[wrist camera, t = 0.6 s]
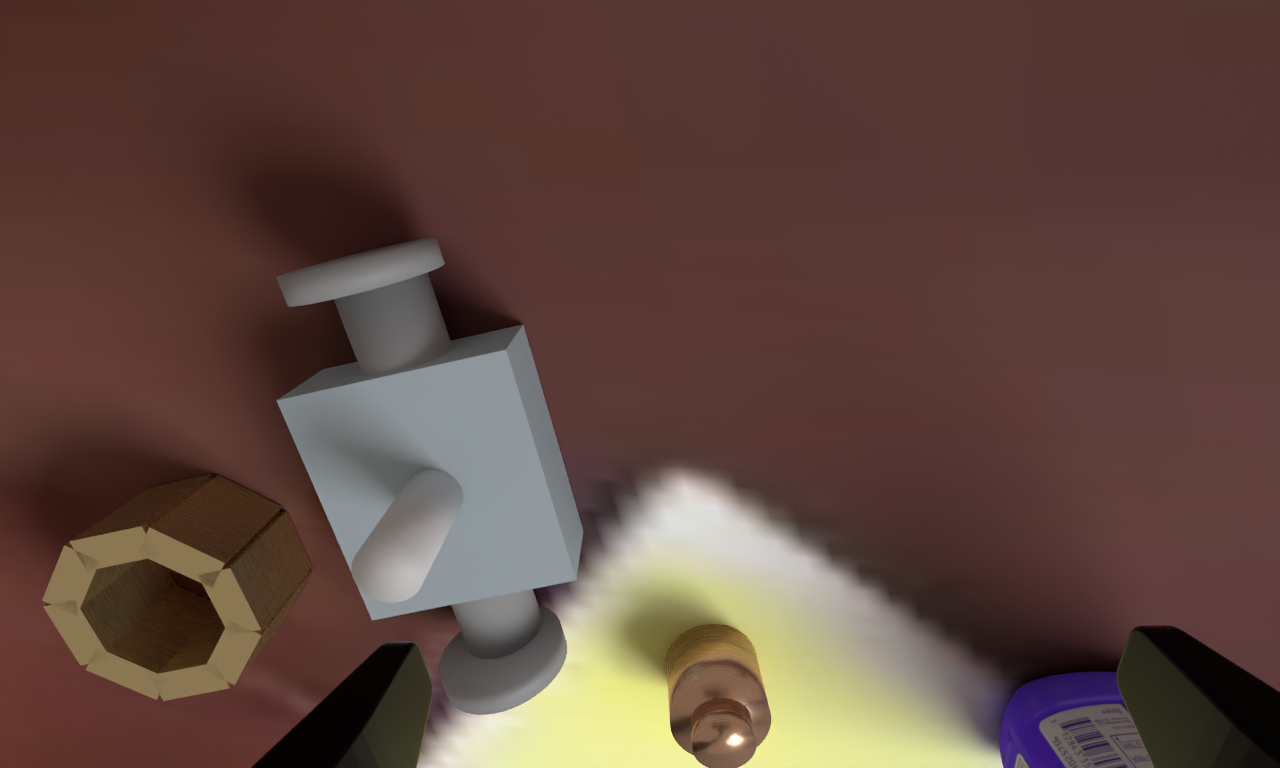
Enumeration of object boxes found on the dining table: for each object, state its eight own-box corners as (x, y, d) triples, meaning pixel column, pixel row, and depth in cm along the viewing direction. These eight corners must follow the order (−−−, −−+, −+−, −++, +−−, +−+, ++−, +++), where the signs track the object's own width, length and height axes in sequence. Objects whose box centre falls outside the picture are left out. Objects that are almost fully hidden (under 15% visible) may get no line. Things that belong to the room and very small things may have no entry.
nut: (177, 639, 26) (109, 711, 22) (98, 498, 23) (10, 553, 20) (331, 609, 25) (285, 677, 22) (264, 462, 23) (202, 513, 20)
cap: (676, 703, 27) (683, 792, 23) (658, 633, 26) (662, 715, 22) (762, 687, 27) (784, 775, 23) (748, 616, 25) (767, 696, 22)
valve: (605, 605, 25) (594, 765, 18) (431, 638, 26) (361, 806, 19) (493, 221, 20) (424, 251, 14) (283, 270, 21) (119, 322, 14)
